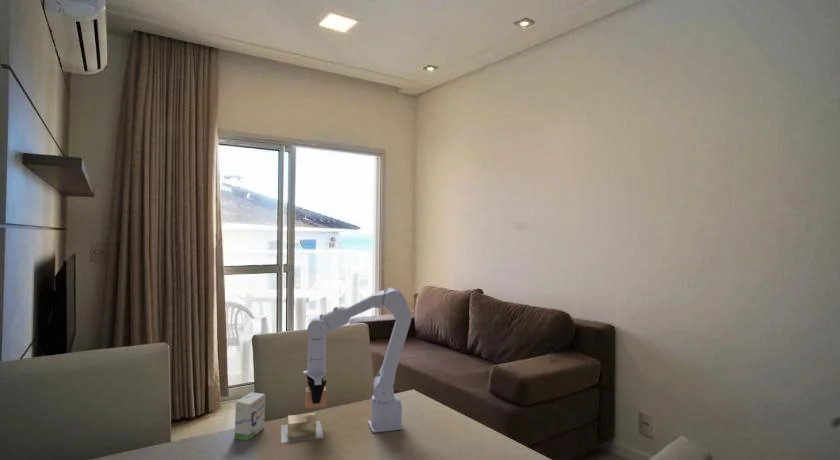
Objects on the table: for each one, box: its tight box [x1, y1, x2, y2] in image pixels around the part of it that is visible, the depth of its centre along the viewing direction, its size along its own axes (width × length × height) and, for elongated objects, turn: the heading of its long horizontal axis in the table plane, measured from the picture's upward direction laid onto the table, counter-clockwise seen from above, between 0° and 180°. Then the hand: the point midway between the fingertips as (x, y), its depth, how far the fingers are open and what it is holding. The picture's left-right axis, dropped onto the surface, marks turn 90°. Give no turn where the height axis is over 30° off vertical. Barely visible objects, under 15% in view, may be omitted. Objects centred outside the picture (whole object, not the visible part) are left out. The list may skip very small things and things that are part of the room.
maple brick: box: [287, 412, 317, 437], centre depth 136 cm, size 8×6×4 cm
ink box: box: [233, 391, 266, 441], centre depth 134 cm, size 9×5×12 cm, turn 168°
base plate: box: [280, 420, 324, 444], centre depth 136 cm, size 12×12×1 cm
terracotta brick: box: [305, 386, 327, 409], centre depth 140 cm, size 6×4×5 cm, turn 107°
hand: (315, 400), depth 140 cm, fingers closed on terracotta brick, 4 cm apart
